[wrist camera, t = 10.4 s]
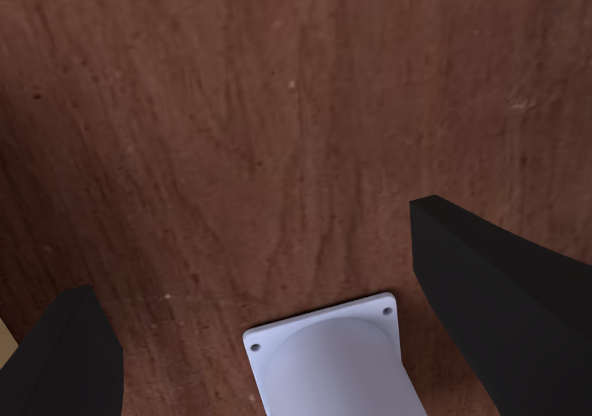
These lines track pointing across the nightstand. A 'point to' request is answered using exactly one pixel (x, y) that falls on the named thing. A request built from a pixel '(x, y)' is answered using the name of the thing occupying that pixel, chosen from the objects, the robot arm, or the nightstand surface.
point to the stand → (6, 344)
